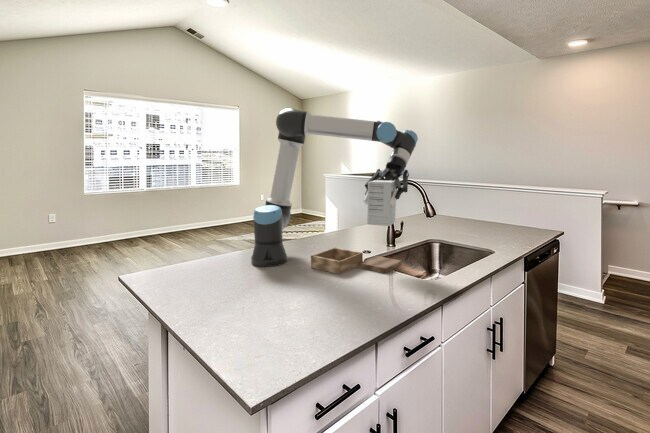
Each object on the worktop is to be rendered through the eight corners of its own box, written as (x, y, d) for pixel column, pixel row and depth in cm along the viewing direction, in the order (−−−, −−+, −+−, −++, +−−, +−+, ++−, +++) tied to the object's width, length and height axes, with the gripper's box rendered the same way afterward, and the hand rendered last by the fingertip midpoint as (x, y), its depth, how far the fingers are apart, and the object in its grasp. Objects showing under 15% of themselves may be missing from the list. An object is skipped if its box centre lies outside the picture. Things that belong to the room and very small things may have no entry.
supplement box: (390, 226, 145) (391, 182, 142) (366, 224, 149) (367, 181, 146) (395, 222, 154) (396, 180, 151) (373, 220, 157) (374, 179, 154)
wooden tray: (311, 267, 153) (310, 255, 153) (335, 258, 166) (334, 247, 165) (339, 274, 145) (339, 261, 144) (362, 264, 157) (362, 252, 156)
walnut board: (359, 267, 153) (359, 263, 152) (376, 260, 163) (376, 255, 162) (385, 273, 145) (385, 268, 145) (401, 265, 155) (401, 260, 155)
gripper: (427, 168, 152) (408, 212, 143) (376, 167, 166) (356, 206, 157) (422, 155, 147) (402, 199, 138) (370, 155, 161) (349, 195, 152)
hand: (377, 203), depth 147 cm, fingers closed on supplement box, 11 cm apart
